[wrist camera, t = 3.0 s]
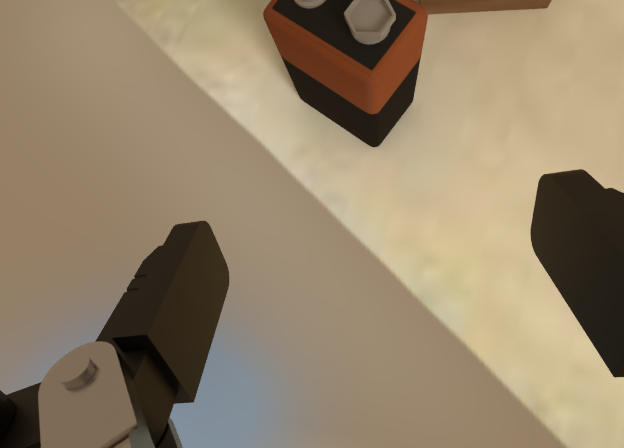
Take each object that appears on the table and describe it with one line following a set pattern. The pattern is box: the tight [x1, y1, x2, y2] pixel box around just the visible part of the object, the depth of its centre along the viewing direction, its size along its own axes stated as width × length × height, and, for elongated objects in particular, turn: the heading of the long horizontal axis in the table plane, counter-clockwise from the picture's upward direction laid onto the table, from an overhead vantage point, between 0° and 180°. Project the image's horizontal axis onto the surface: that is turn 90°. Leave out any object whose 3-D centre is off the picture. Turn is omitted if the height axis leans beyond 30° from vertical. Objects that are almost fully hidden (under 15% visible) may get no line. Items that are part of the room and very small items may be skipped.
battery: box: [263, 0, 428, 147], centre depth 22 cm, size 4×7×10 cm, turn 53°
